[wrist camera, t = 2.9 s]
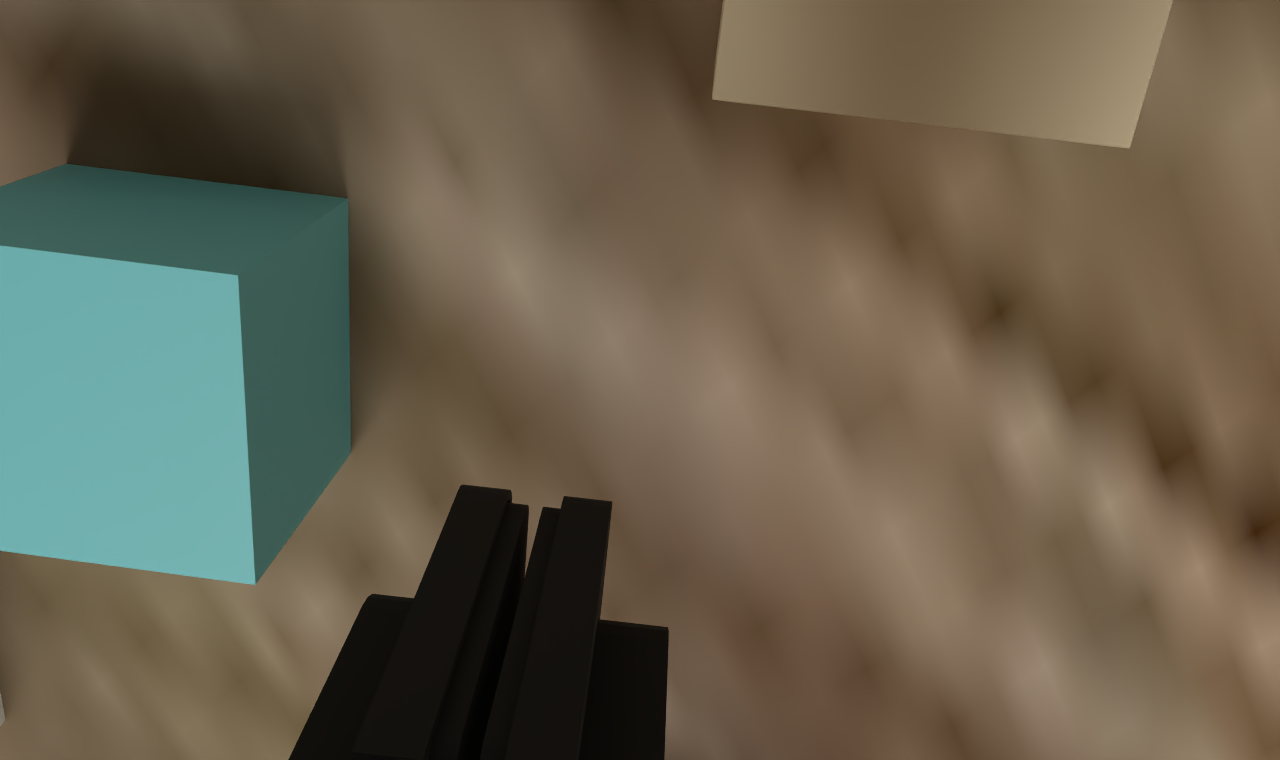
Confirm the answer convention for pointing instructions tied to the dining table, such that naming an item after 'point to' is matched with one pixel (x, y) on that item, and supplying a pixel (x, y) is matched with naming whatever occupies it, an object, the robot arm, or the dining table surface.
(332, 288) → the teal block
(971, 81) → the maple block
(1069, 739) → the dining table surface
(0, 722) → the white block
